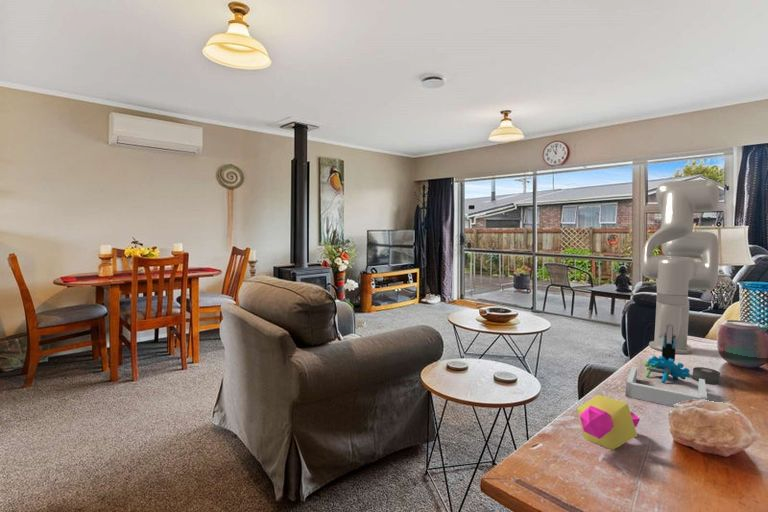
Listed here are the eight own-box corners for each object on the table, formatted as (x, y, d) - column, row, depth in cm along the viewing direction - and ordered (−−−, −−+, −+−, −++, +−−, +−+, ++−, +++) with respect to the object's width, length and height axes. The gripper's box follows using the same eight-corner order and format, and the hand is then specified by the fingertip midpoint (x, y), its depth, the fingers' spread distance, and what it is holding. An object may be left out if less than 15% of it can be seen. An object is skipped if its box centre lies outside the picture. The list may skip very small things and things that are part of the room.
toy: (655, 445, 82) (638, 392, 87) (626, 451, 71) (609, 390, 75) (604, 447, 89) (591, 398, 93) (570, 453, 77) (556, 396, 81)
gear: (697, 378, 112) (681, 356, 109) (691, 396, 110) (674, 375, 107) (655, 371, 122) (639, 351, 119) (648, 387, 120) (632, 367, 117)
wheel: (692, 374, 119) (693, 365, 119) (718, 379, 116) (719, 369, 115) (692, 381, 114) (693, 370, 114) (720, 386, 111) (720, 375, 111)
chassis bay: (631, 378, 116) (632, 366, 116) (703, 392, 107) (704, 379, 106) (625, 396, 104) (626, 383, 104) (706, 413, 94) (707, 399, 94)
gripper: (657, 295, 128) (654, 351, 129) (655, 301, 116) (651, 364, 117) (687, 297, 123) (683, 356, 125) (687, 305, 111) (683, 369, 113)
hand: (668, 360), depth 121 cm, fingers closed
